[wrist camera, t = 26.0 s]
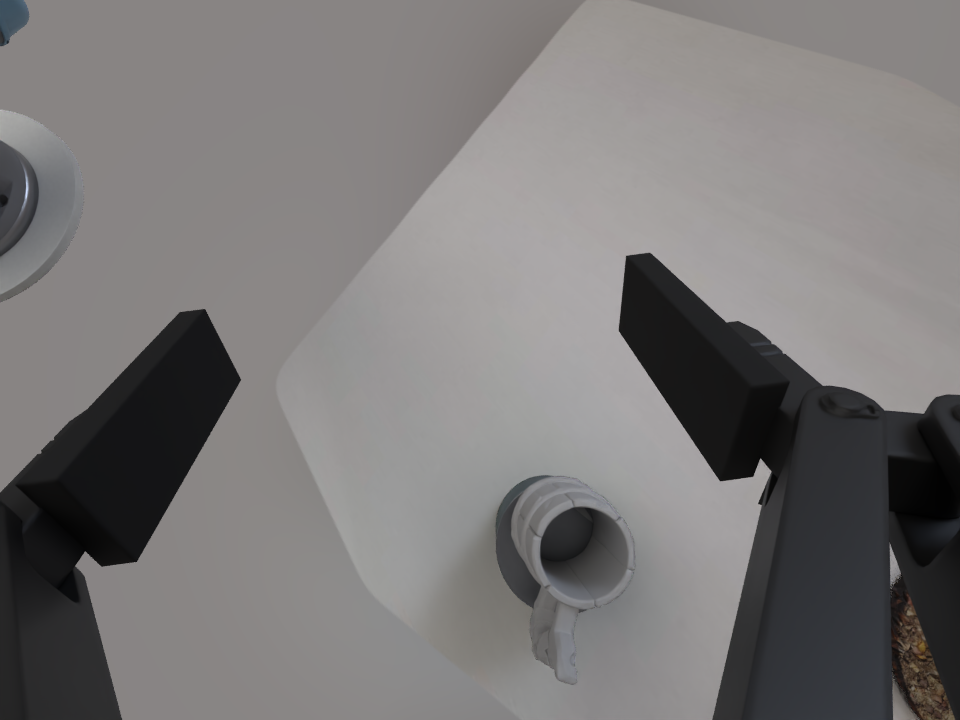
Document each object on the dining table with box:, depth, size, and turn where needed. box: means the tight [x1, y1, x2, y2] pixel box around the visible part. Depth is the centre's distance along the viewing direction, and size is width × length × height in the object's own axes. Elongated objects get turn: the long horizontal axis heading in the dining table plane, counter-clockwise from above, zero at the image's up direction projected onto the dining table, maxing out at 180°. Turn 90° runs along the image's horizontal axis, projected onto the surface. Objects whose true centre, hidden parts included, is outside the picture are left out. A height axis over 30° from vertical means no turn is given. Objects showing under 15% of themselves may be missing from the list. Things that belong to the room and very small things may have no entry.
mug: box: [511, 476, 635, 685], centre depth 30 cm, size 8×12×12 cm, turn 164°
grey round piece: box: [496, 475, 593, 613], centre depth 40 cm, size 10×10×7 cm
